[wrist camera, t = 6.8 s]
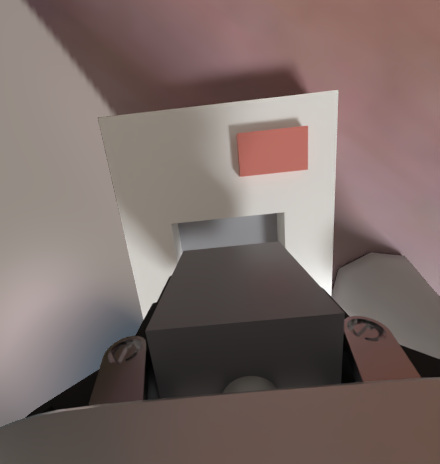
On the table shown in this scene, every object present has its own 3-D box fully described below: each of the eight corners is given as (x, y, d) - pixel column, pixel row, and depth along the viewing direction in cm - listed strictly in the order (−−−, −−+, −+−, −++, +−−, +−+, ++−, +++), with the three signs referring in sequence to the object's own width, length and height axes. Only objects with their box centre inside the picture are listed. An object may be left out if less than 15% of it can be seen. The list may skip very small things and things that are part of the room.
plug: (183, 250, 11) (104, 417, 3) (279, 241, 11) (416, 391, 3) (195, 331, 12) (157, 585, 5) (281, 323, 12) (386, 571, 5)
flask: (412, 242, 18) (642, 322, 8) (411, 316, 20) (598, 452, 10) (325, 259, 18) (445, 355, 9) (332, 330, 20) (438, 475, 10)
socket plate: (120, 128, 15) (90, 114, 12) (315, 106, 15) (345, 85, 12) (162, 337, 20) (150, 372, 16) (313, 323, 20) (334, 356, 16)
